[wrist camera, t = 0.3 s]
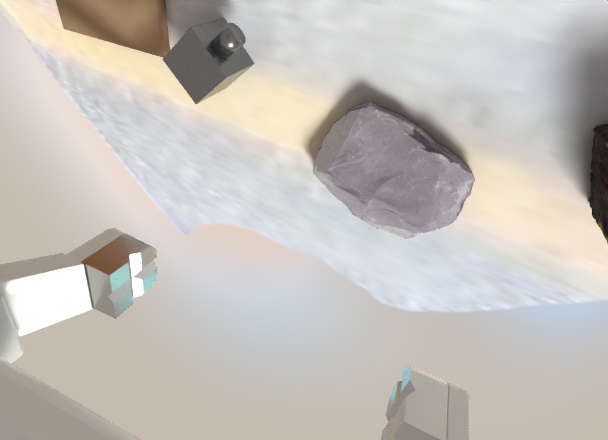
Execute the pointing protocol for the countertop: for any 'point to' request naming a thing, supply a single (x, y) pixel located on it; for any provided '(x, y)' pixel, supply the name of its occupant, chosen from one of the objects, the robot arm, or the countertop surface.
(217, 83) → the grey block with cylinder
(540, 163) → the countertop surface
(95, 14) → the brown square plate
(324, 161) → the stone
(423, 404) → the robot arm
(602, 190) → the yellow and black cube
